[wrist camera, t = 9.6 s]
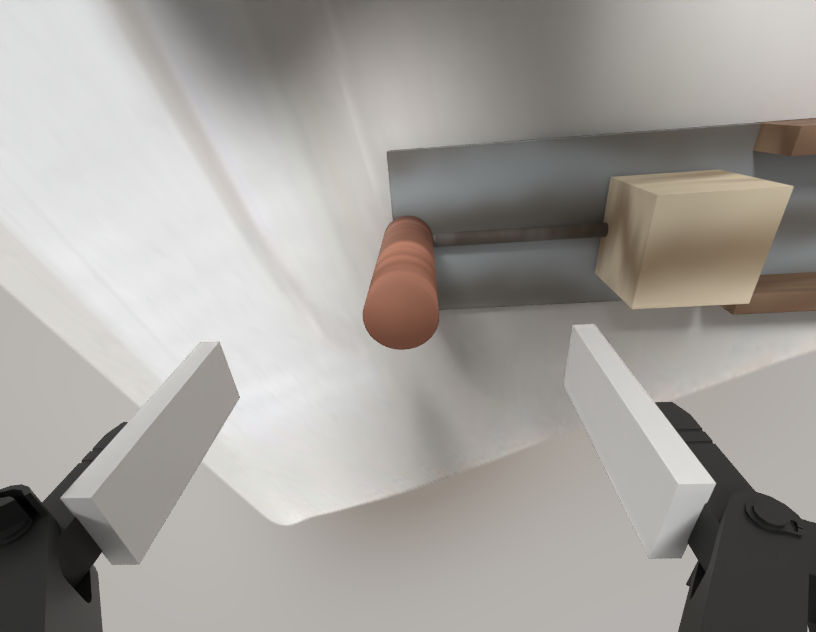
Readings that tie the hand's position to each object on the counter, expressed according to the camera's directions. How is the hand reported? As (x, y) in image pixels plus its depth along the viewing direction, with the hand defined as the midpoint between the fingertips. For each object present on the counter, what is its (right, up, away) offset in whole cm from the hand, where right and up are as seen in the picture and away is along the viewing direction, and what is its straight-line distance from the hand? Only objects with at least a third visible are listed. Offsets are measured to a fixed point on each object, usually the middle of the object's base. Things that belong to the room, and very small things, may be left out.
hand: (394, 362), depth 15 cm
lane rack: (+18, +9, +14) cm, 24 cm away
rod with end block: (+10, +8, +14) cm, 19 cm away
